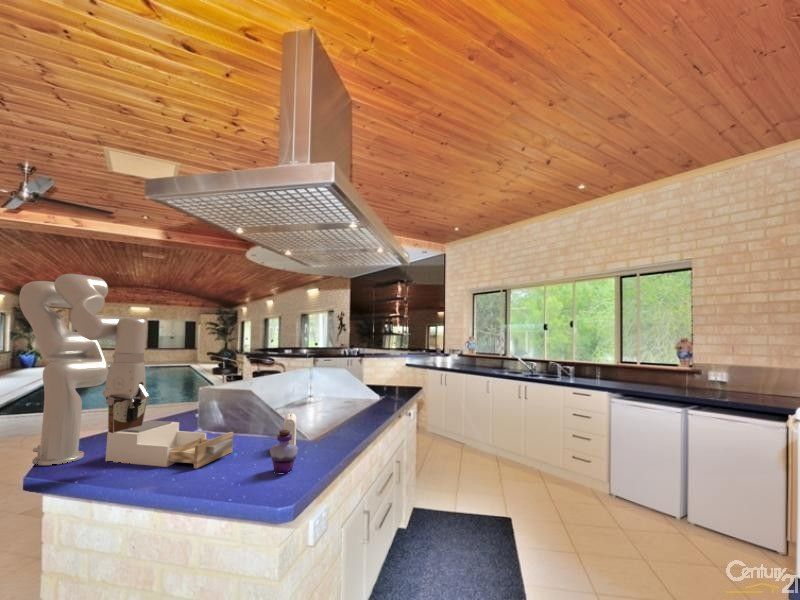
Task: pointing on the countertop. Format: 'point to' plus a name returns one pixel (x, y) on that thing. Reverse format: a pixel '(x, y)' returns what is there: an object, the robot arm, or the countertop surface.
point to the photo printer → (291, 426)
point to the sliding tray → (202, 450)
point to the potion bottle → (283, 453)
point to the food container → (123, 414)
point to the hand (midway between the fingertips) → (123, 419)
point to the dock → (148, 443)
